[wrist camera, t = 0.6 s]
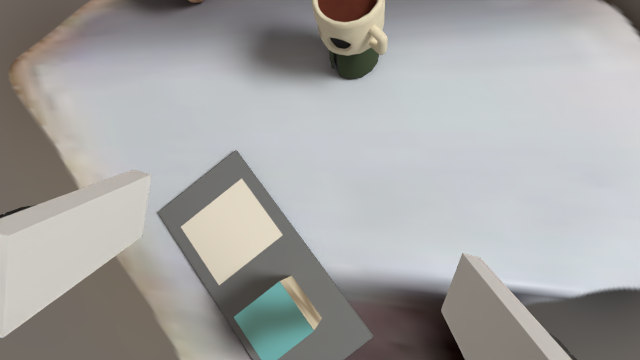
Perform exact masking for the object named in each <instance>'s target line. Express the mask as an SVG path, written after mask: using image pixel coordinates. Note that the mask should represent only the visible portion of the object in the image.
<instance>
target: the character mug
mask: <svg viewBox="0 0 640 360" xmlns="http://www.w3.org/2000/svg"><path fill="white" fill-rule="evenodd" d="M312 7H313V11H314V16H315V19H316V21H317V23H318V30H319V35H320V37H321V39H322V41H323V43H324V44H325V45H326V47H327V48H328V49H329V52H330V60H331V64H332V68H333V69H334V61H335V63H336V65H337V67H338V73H339V75H340V76H343V77H346V78H349V79H353V78H361V77H363V76H364V75H366V74H367V73H369V72H371V71H372V69H373V68H374V66H375V65H376V64H377V62H378V57H379V54H380V55H383V54H385V52H386V50H387V36H386V35H385V33H384V32H383V31H382V29H383V26H384V9H385V0H312Z"/></svg>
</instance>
